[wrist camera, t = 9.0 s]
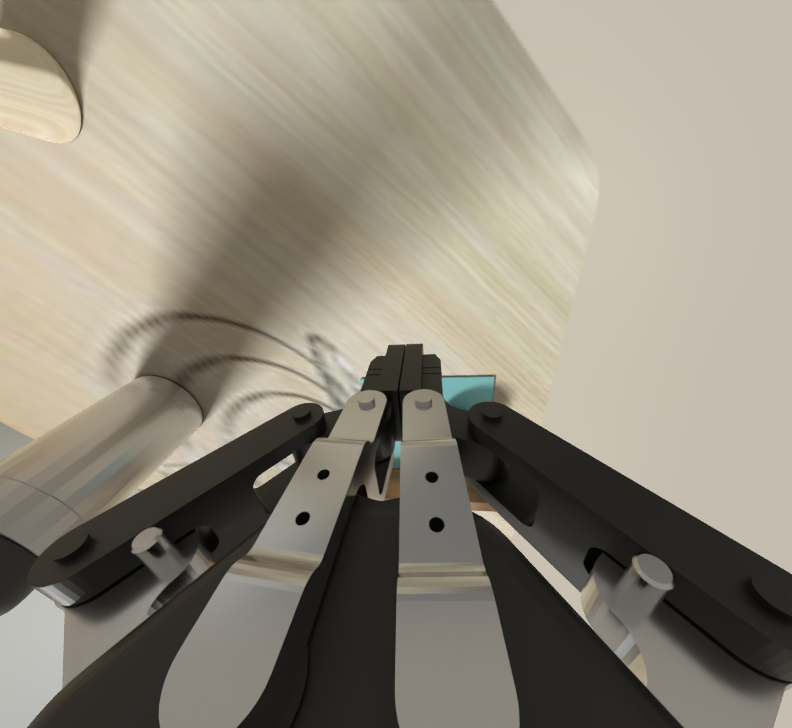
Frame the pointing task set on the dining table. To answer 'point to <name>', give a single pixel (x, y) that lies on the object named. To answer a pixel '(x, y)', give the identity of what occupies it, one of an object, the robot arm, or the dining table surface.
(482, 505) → the walnut stopper
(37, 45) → the beer glass
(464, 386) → the teal mark
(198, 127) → the dining table surface
